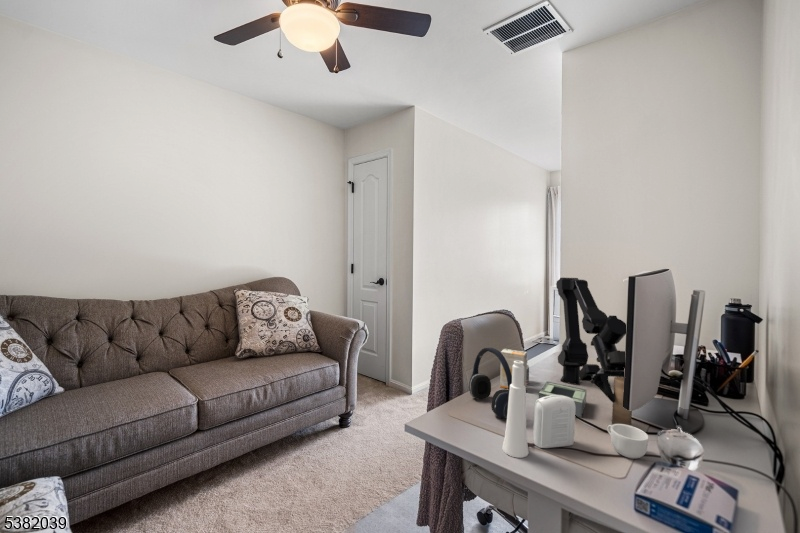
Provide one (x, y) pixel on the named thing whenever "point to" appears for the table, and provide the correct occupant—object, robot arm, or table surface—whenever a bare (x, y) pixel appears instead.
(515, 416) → the cosmetic bottle
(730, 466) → the table surface
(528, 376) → the pill bottle
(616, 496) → the table surface
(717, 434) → the table surface
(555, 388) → the money box
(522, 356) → the supplement box
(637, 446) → the teacup
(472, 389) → the headphones
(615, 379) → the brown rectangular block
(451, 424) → the table surface
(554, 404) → the photo printer
